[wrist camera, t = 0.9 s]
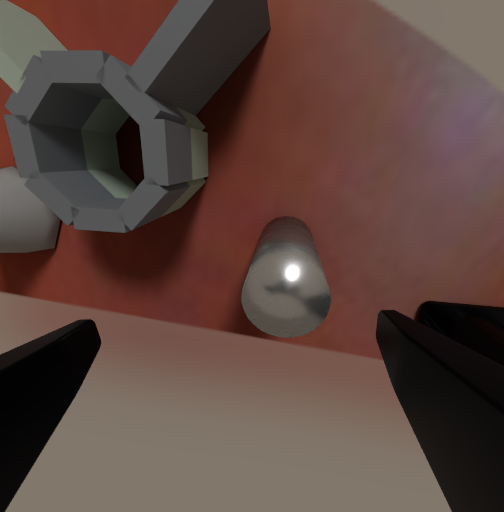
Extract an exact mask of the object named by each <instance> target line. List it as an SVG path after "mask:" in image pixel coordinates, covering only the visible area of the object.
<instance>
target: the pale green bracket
mask: <svg viewBox="0 0 504 512" xmlns="http://www.w3.org/2000/svg"><path fill="white" fill-rule="evenodd" d="M40 51H68V50H67V49H66V48H65V47H64V46H63V45H62V44H61V43H60V42H59V41H58V40H57V39H56V37H55V36H54V35H53V34H52V33H51V32H50V31H49V30H48V29H47V28H46V27H45V26H44V25H43V24H42V22H41V21H40V20H39V19H38V18H37V17H36V16H34V15H32V14H30V13H28V12H27V11H25V10H23V9H21V8H20V7H18V6H16V5H14V4H12V3H11V2H9V1H7V0H0V77H1V78H2V79H3V80H4V81H5V82H6V83H7V84H8V85H9V86H10V87H11V88H12V89H13V90H14V91H15V92H16V93H18V91H19V90H20V88H21V86H22V84H23V82H24V81H25V79H26V78H25V76H26V75H25V73H24V71H25V69H26V67H27V65H28V63H29V62H30V60H31V58H32V56H33V55H36V56H38V57H41V53H40ZM23 73H24V75H22V74H23ZM21 76H22V78H23V80H22V79H21ZM23 76H24V77H23ZM176 108H177V107H176ZM177 109H178V110H179V111H180V112H181V113H182V114H183V116H184V117H185V118H186V119H187V120H188V121H187V122H186V123H185V124H184V125H185V126H188V127H191V153H192V180H191V181H187V183H188V184H189V185H190V187H189V188H188V189H187V190H186V191H185V192H184V193H183V194H182V195H181V196H180V198H179V199H178V200H177V201H176V202H175V203H174V204H173V205H172V206H171V207H170V208H169V209H168V210H167V211H166V212H165V213H164V214H163V215H162V216H164V215H166V214H169V213H171V212H173V211H175V210H177V209H179V208H181V207H182V206H183V205H184V204H185V203H186V202H187V201H188V200H189V199H190V198H191V197H192V196H193V195H194V194H195V193H196V192H197V191H198V190H199V189H200V188H201V187H202V186H203V185H204V184H205V182H206V180H205V179H204V177H208V133H207V132H203V131H202V130H203V129H204V128H205V126H204V125H203V124H202V123H201V121H200V120H199V119H198V118H197V117H196V116H195V115H193V114H190V113H188V112H186V111H184V110H182V109H179V108H177ZM129 116H130V115H129V114H128V113H127V112H126V110H125V109H124V108H123V107H122V106H121V105H120V104H119V103H118V102H117V101H116V100H115V99H102V100H101V101H100V102H99V104H98V105H97V107H96V108H95V110H94V111H93V113H92V114H91V115H90V117H89V118H88V120H87V121H86V123H85V124H84V125H83V127H82V128H81V134H82V140H83V146H84V152H85V158H86V164H87V170H88V171H89V172H90V173H91V174H92V175H93V176H94V177H95V178H96V179H97V180H98V181H99V182H100V183H101V184H102V185H103V186H104V187H105V188H106V189H107V190H108V191H109V192H110V193H111V194H112V195H113V196H114V197H115V198H125V199H127V198H128V197H129V196H130V195H131V193H132V192H133V191H134V190H135V189H136V188H137V185H136V184H135V183H134V182H133V181H132V180H131V179H130V178H129V177H128V176H127V175H126V174H125V173H124V172H123V171H122V170H121V169H120V165H119V157H118V149H117V141H116V133H117V132H118V130H119V129H120V128H121V127H122V125H123V124H124V123H125V121H126V120H127V119H128V117H129ZM162 216H161V217H162Z"/></svg>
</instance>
